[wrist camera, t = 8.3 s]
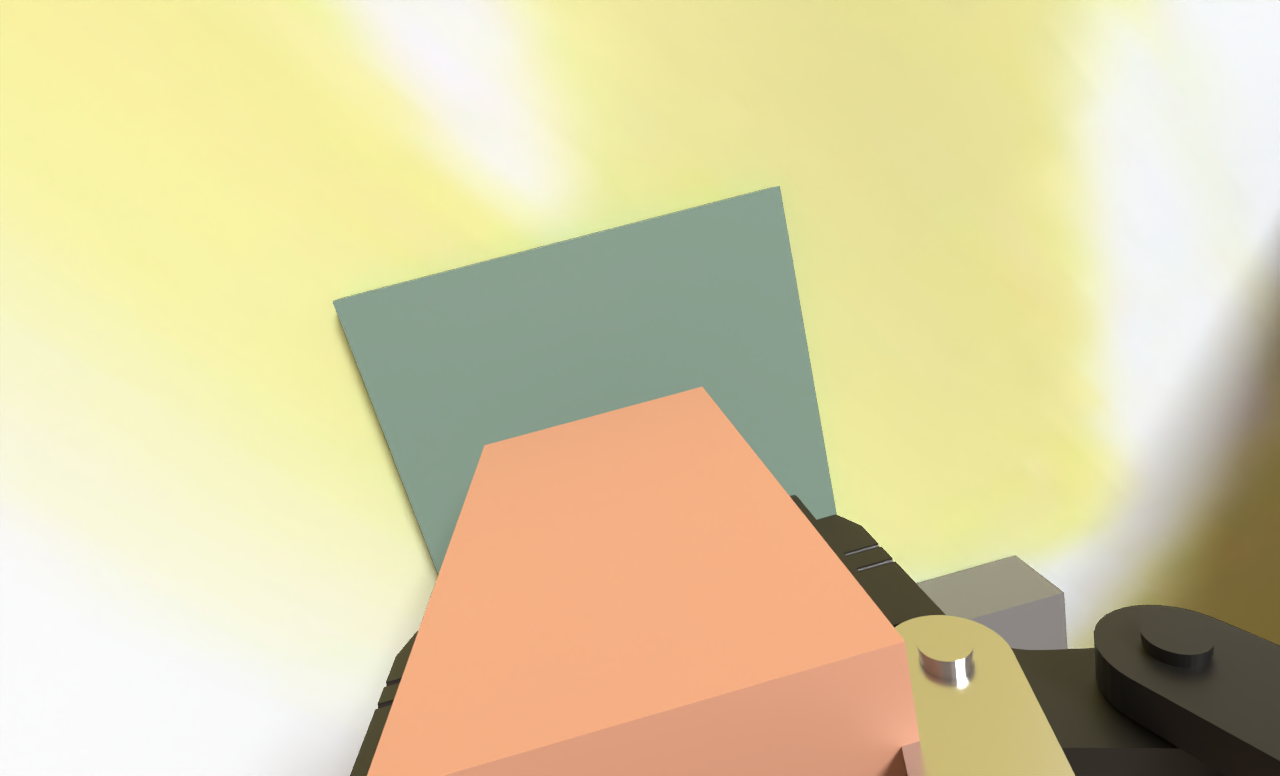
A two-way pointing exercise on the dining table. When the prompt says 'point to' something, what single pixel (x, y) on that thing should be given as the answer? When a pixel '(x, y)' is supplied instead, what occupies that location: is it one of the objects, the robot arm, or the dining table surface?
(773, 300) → the rubber pad
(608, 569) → the terracotta block
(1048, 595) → the pocket plate
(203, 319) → the dining table surface
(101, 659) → the dining table surface
